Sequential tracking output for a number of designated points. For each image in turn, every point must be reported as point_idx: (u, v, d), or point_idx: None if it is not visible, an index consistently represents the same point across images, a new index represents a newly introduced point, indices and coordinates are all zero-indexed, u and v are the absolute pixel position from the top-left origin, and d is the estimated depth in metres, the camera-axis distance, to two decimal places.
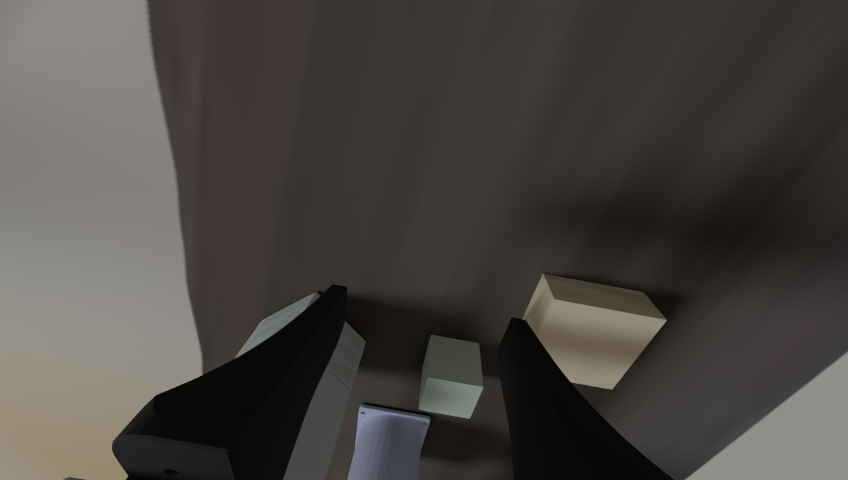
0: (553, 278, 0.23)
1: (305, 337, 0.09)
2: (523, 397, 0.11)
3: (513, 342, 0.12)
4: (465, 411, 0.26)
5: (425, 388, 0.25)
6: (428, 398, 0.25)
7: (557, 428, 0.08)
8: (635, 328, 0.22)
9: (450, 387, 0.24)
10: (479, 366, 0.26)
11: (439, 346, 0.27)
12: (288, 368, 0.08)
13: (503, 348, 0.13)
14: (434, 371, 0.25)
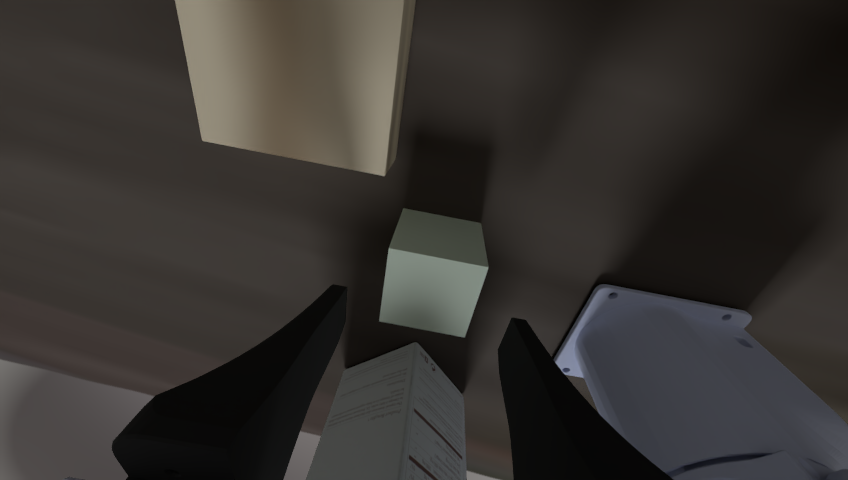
0: None
1: (305, 337, 0.09)
2: (523, 397, 0.11)
3: (513, 342, 0.12)
4: (465, 274, 0.14)
5: (407, 325, 0.16)
6: (432, 323, 0.15)
7: (557, 429, 0.08)
8: None
9: (396, 294, 0.15)
10: (395, 231, 0.15)
11: None
12: (288, 368, 0.08)
13: (503, 348, 0.13)
14: None
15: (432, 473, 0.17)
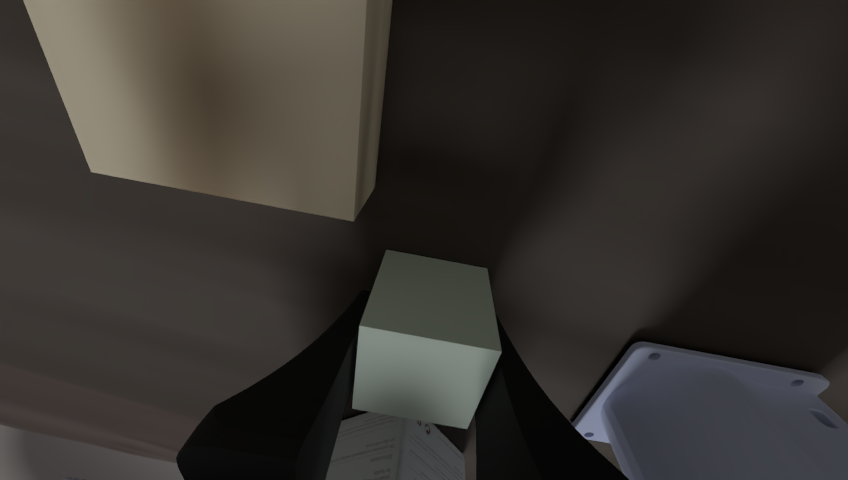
0: None
1: (345, 344, 0.09)
2: (487, 391, 0.11)
3: None
4: (468, 358, 0.10)
5: (390, 413, 0.12)
6: (423, 412, 0.11)
7: (511, 420, 0.08)
8: None
9: (374, 379, 0.11)
10: (372, 290, 0.11)
11: None
12: (335, 376, 0.08)
13: None
14: None
15: None
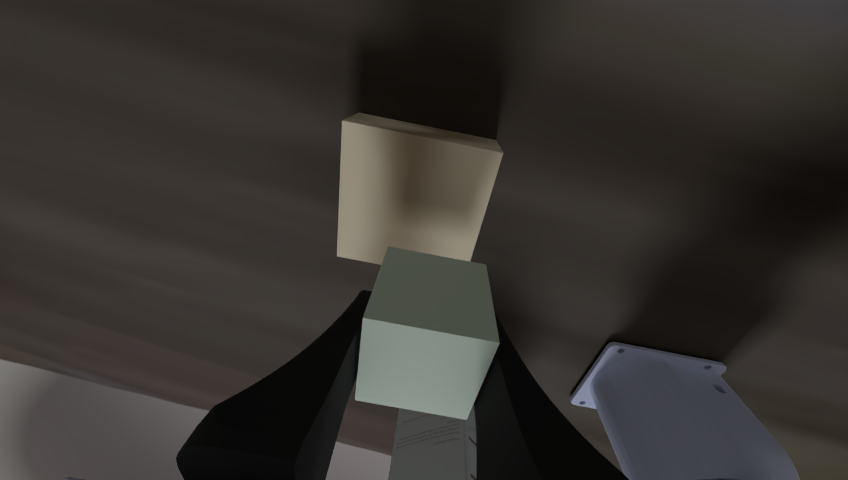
0: None
1: (345, 344, 0.09)
2: (487, 390, 0.11)
3: None
4: (467, 350, 0.10)
5: (391, 405, 0.12)
6: (424, 403, 0.12)
7: (511, 420, 0.08)
8: (365, 157, 0.16)
9: (376, 371, 0.11)
10: (374, 285, 0.12)
11: None
12: (335, 376, 0.08)
13: None
14: None
15: None
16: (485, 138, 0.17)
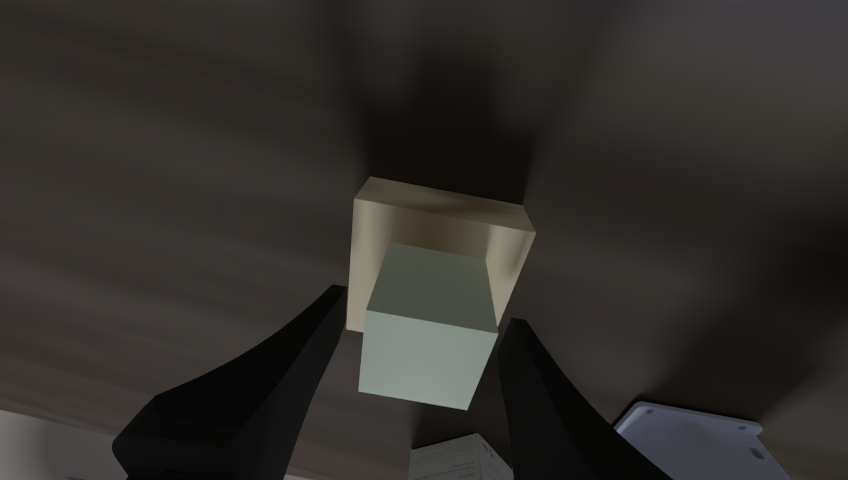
0: None
1: (305, 337, 0.09)
2: (523, 397, 0.11)
3: (513, 342, 0.12)
4: (467, 341, 0.10)
5: (394, 396, 0.12)
6: (425, 394, 0.12)
7: (557, 429, 0.08)
8: (379, 234, 0.14)
9: (379, 362, 0.11)
10: None
11: None
12: (288, 368, 0.08)
13: (503, 348, 0.13)
14: None
15: None
16: (510, 204, 0.16)
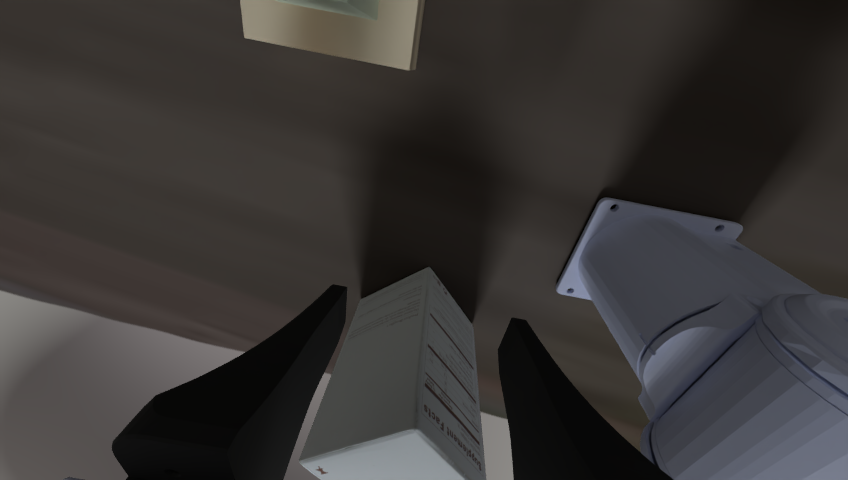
0: None
1: (305, 337, 0.09)
2: (523, 397, 0.11)
3: (513, 342, 0.12)
4: None
5: None
6: None
7: (557, 428, 0.08)
8: None
9: None
10: None
11: None
12: (288, 368, 0.08)
13: (503, 348, 0.13)
14: None
15: (448, 366, 0.18)
16: None
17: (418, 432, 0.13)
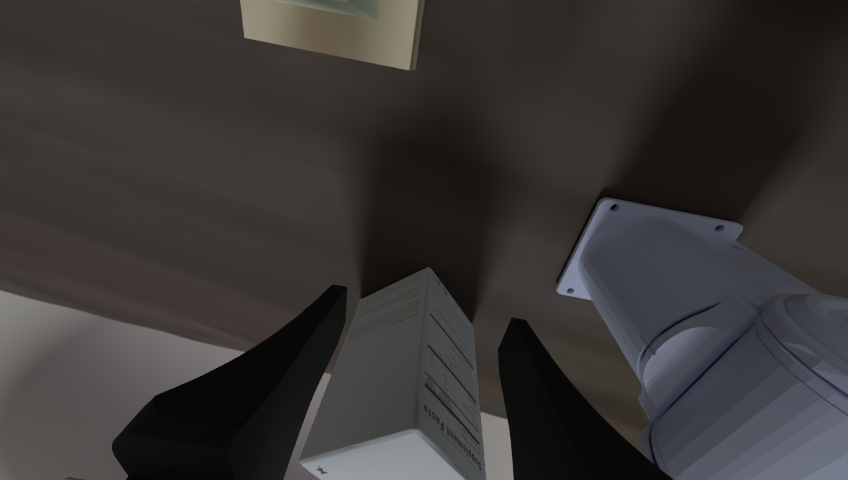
0: None
1: (305, 337, 0.09)
2: (523, 397, 0.11)
3: (513, 342, 0.12)
4: None
5: None
6: None
7: (557, 428, 0.08)
8: None
9: None
10: None
11: None
12: (288, 368, 0.08)
13: (503, 348, 0.13)
14: None
15: (448, 366, 0.18)
16: None
17: (418, 432, 0.13)
